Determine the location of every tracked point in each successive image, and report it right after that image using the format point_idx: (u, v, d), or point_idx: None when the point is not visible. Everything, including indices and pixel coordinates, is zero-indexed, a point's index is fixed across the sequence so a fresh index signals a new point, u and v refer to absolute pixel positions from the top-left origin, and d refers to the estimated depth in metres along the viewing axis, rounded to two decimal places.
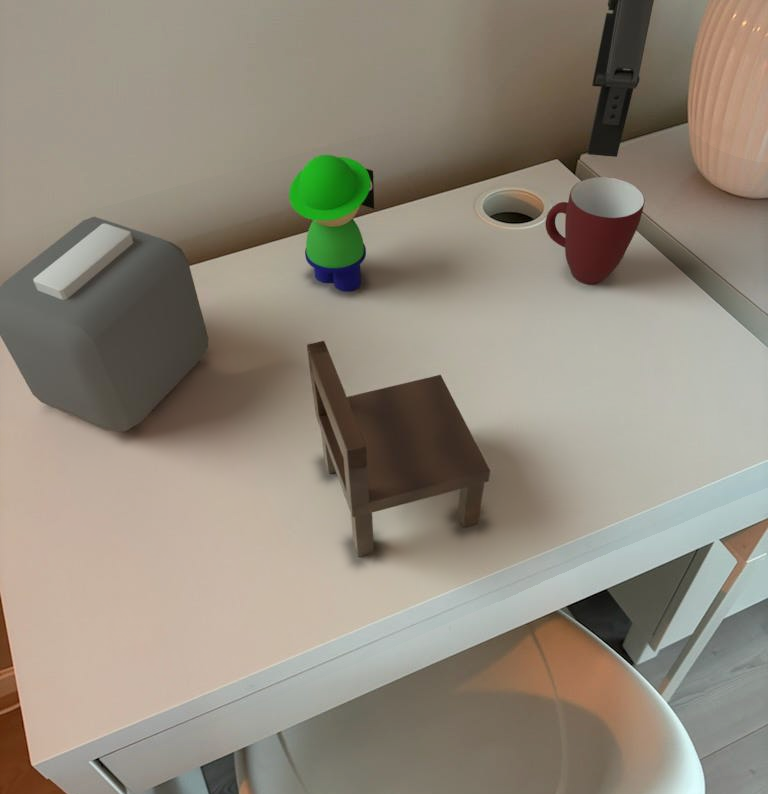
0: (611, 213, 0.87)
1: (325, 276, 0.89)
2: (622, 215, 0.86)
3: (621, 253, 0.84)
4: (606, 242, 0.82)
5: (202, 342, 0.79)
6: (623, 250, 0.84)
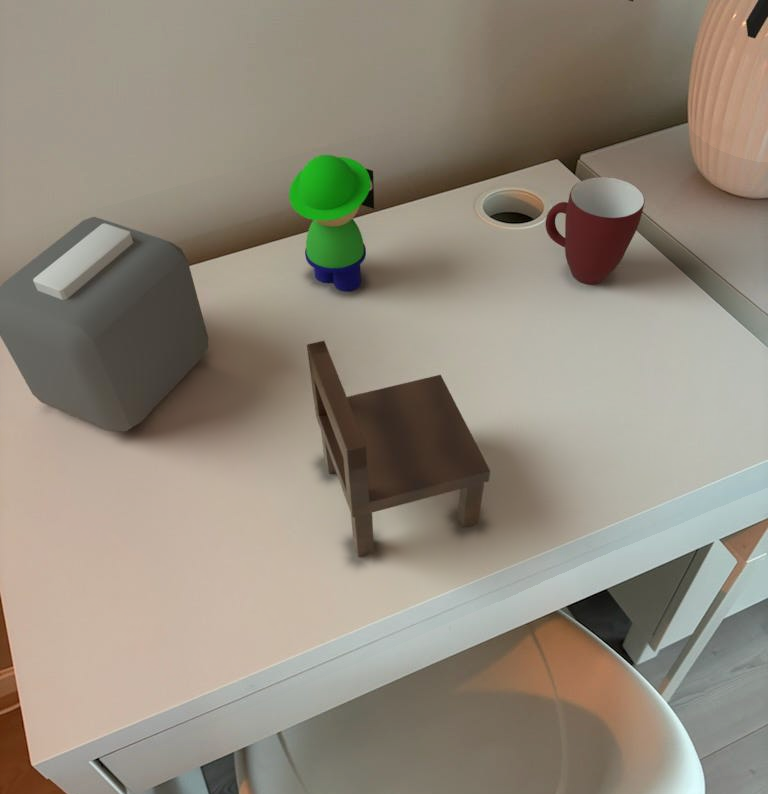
0: (611, 213, 0.87)
1: (325, 276, 0.89)
2: (622, 215, 0.86)
3: (621, 253, 0.84)
4: (606, 242, 0.82)
5: (202, 342, 0.79)
6: (623, 250, 0.84)
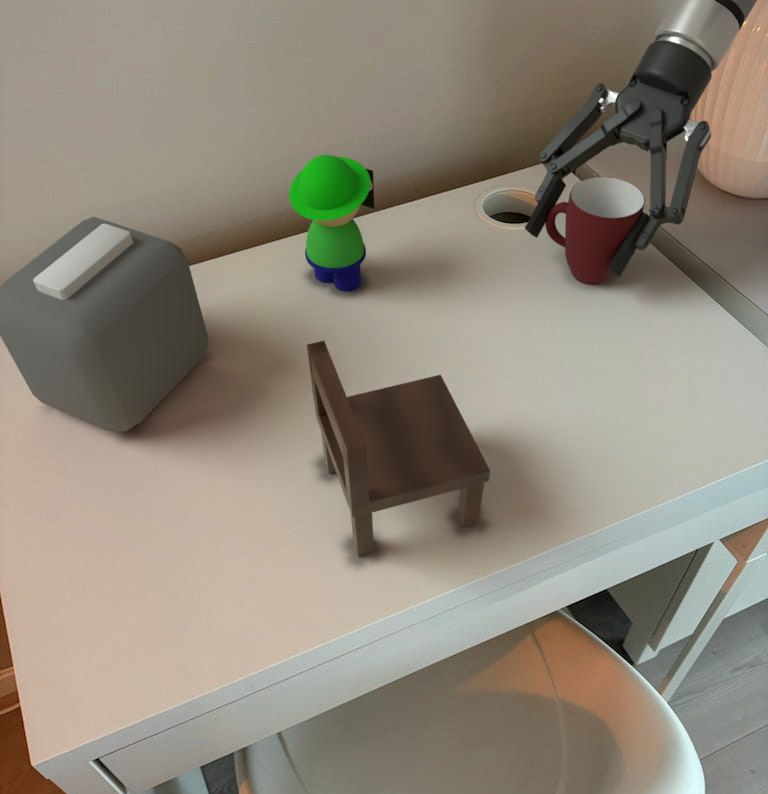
0: (611, 213, 0.87)
1: (325, 276, 0.89)
2: (622, 215, 0.86)
3: None
4: (606, 242, 0.82)
5: (202, 342, 0.79)
6: None
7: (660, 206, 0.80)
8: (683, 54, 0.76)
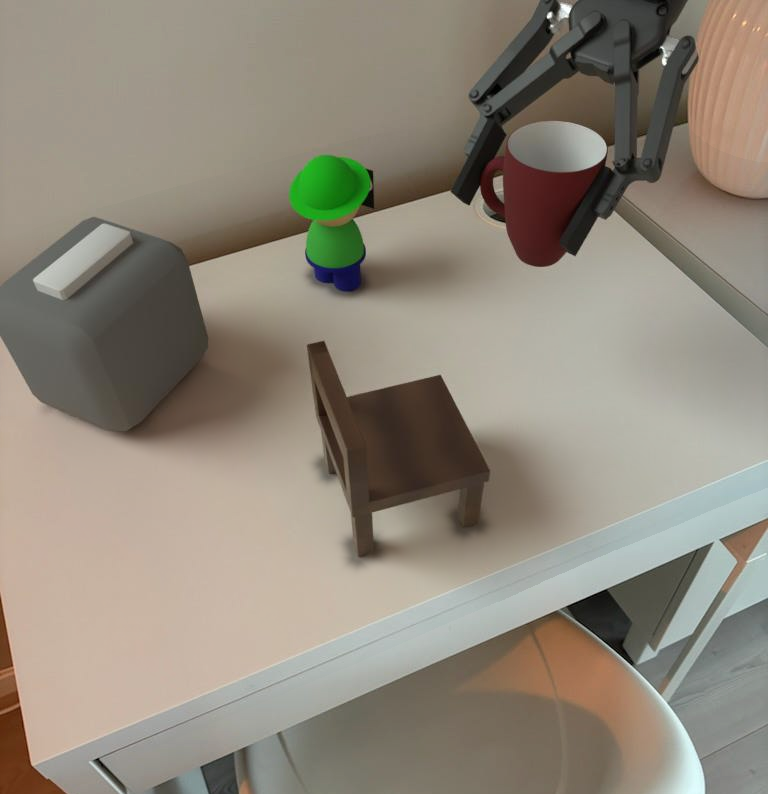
0: (566, 171, 0.65)
1: (325, 276, 0.89)
2: None
3: None
4: (555, 207, 0.60)
5: (202, 342, 0.79)
6: None
7: (628, 156, 0.58)
8: None
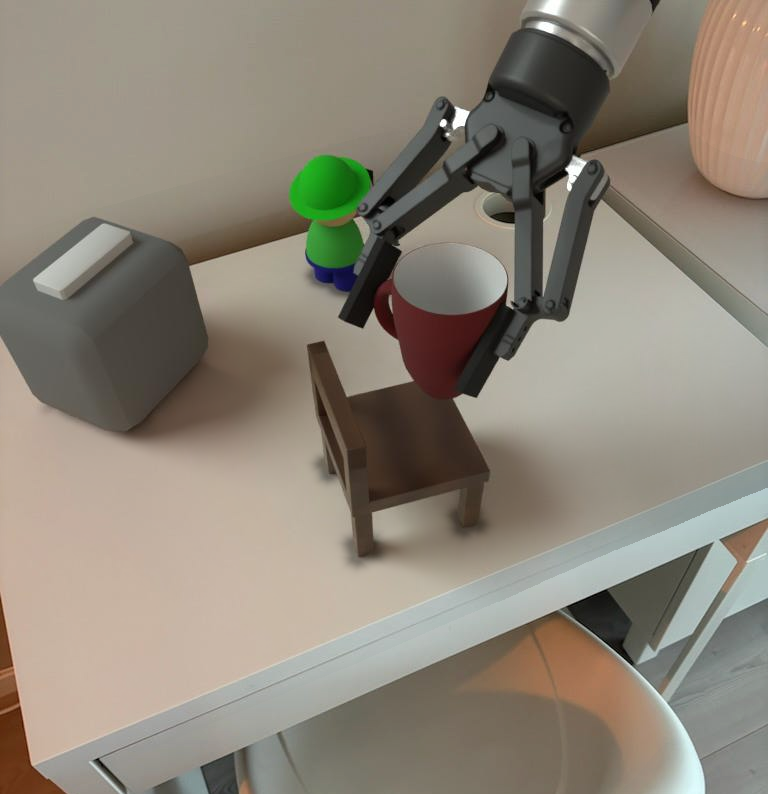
0: (469, 295, 0.56)
1: (325, 276, 0.89)
2: (485, 299, 0.56)
3: None
4: (448, 349, 0.52)
5: (202, 342, 0.79)
6: None
7: (529, 295, 0.50)
8: (557, 51, 0.46)
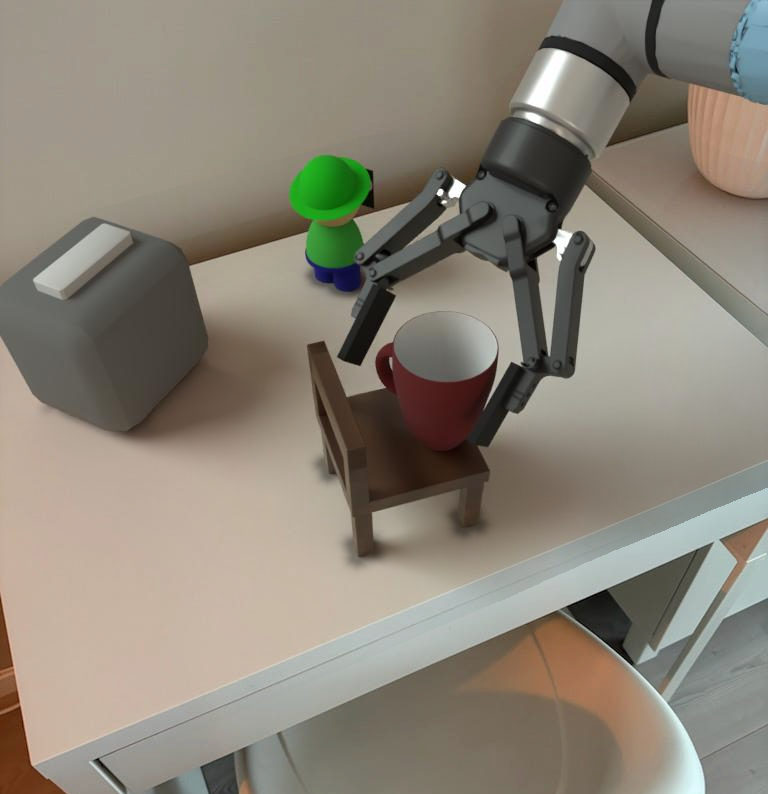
0: (463, 356, 0.61)
1: (325, 276, 0.89)
2: (478, 361, 0.61)
3: (473, 419, 0.59)
4: (444, 410, 0.56)
5: (202, 342, 0.79)
6: (475, 416, 0.59)
7: (536, 355, 0.53)
8: (542, 140, 0.51)
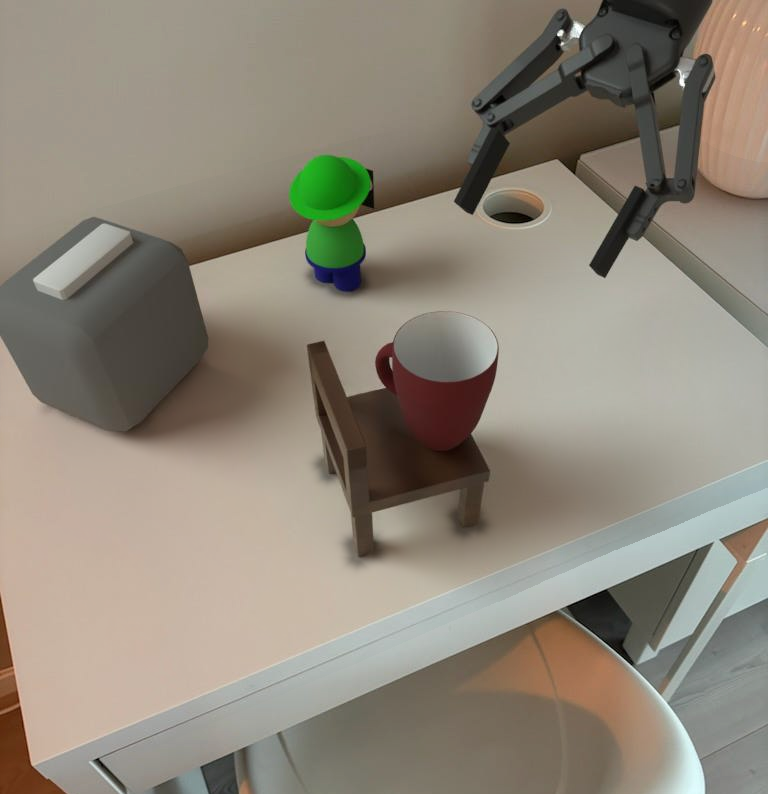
0: (463, 356, 0.61)
1: (325, 276, 0.89)
2: (478, 361, 0.61)
3: (473, 419, 0.59)
4: (444, 410, 0.56)
5: (202, 342, 0.79)
6: (475, 416, 0.59)
7: (660, 176, 0.56)
8: None
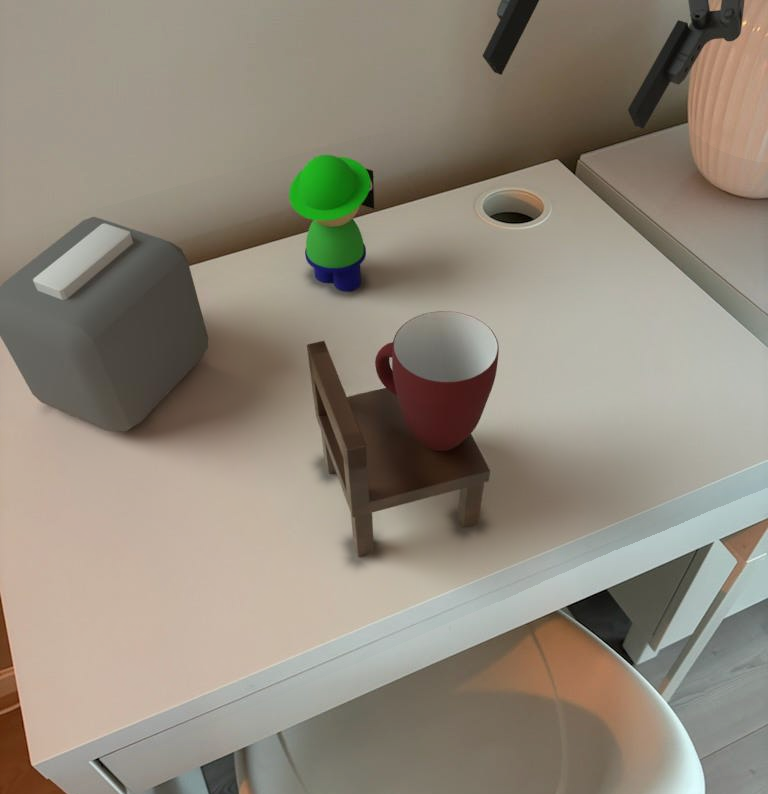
0: (463, 356, 0.61)
1: (325, 276, 0.89)
2: (478, 361, 0.61)
3: (473, 419, 0.59)
4: (444, 410, 0.56)
5: (202, 342, 0.79)
6: (475, 416, 0.59)
7: (706, 8, 0.53)
8: None
